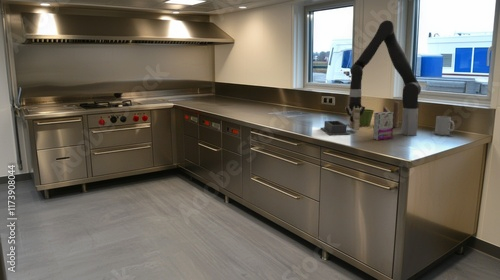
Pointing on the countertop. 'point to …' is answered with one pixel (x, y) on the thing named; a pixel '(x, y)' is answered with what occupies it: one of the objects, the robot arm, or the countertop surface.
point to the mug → (443, 125)
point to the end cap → (335, 128)
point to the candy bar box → (383, 125)
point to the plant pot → (366, 117)
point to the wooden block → (394, 114)
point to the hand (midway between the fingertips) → (354, 121)
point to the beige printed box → (355, 119)
